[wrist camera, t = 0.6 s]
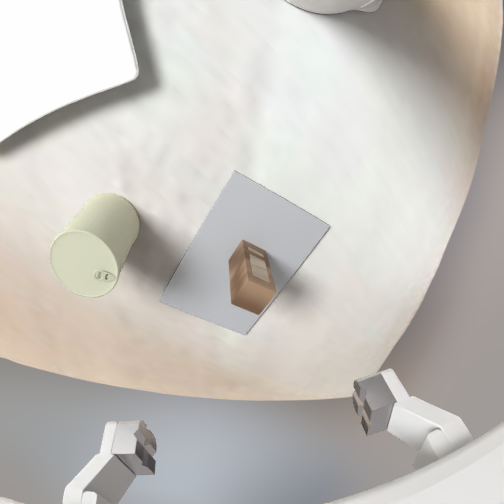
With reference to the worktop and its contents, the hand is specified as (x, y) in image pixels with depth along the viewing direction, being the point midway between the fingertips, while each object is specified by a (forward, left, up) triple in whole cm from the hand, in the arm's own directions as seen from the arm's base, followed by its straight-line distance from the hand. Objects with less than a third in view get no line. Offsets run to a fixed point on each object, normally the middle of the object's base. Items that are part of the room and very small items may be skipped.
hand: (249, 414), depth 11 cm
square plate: (-6, -34, -35) cm, 49 cm away
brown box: (+10, +9, -34) cm, 37 cm away
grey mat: (+12, +9, -34) cm, 38 cm away
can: (+15, -11, -35) cm, 39 cm away
